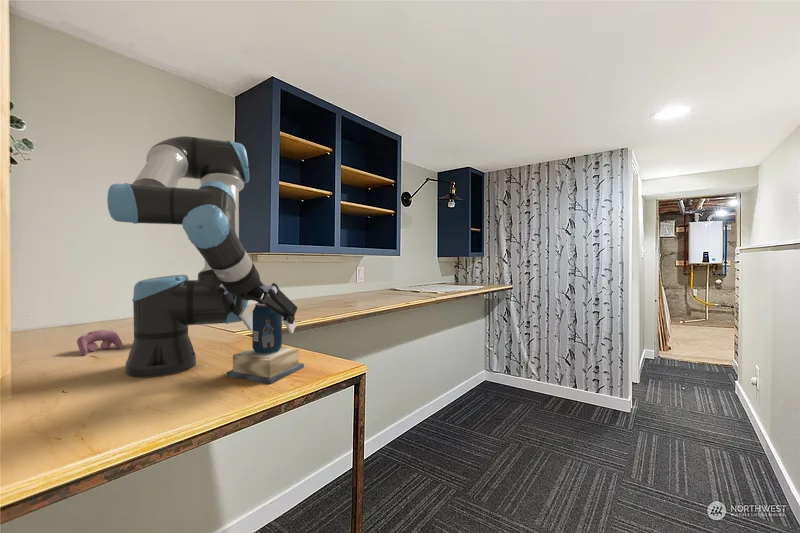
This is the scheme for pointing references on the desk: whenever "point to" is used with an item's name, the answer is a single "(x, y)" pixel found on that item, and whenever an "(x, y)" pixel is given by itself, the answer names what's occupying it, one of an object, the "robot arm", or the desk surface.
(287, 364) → the beige square box
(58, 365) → the desk surface
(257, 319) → the soda can
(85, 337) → the video game controller
